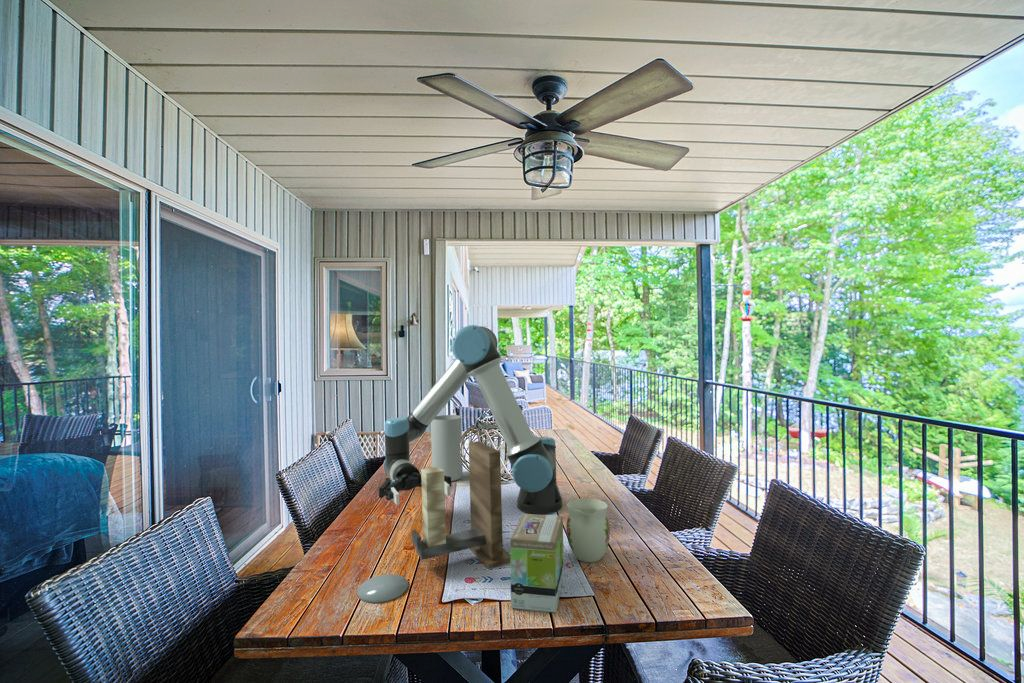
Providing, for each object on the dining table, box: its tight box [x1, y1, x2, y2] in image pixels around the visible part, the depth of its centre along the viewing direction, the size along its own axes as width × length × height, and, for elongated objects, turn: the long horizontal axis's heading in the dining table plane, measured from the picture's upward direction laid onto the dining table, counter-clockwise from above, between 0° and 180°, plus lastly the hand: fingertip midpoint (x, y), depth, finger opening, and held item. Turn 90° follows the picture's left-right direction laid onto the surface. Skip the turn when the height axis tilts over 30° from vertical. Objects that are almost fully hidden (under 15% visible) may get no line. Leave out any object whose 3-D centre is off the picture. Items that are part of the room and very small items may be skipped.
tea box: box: [509, 513, 564, 613], centre depth 102 cm, size 15×10×15 cm, turn 168°
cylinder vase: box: [430, 414, 464, 482], centre depth 190 cm, size 12×12×25 cm
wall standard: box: [411, 441, 511, 570], centre depth 118 cm, size 23×16×28 cm
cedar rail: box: [420, 467, 447, 547], centre depth 115 cm, size 4×4×18 cm
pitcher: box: [565, 497, 611, 563], centre depth 119 cm, size 11×18×14 cm, turn 174°
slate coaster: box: [357, 573, 409, 604], centre depth 105 cm, size 11×11×1 cm
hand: (423, 495), depth 121 cm, fingers open, 13 cm apart
